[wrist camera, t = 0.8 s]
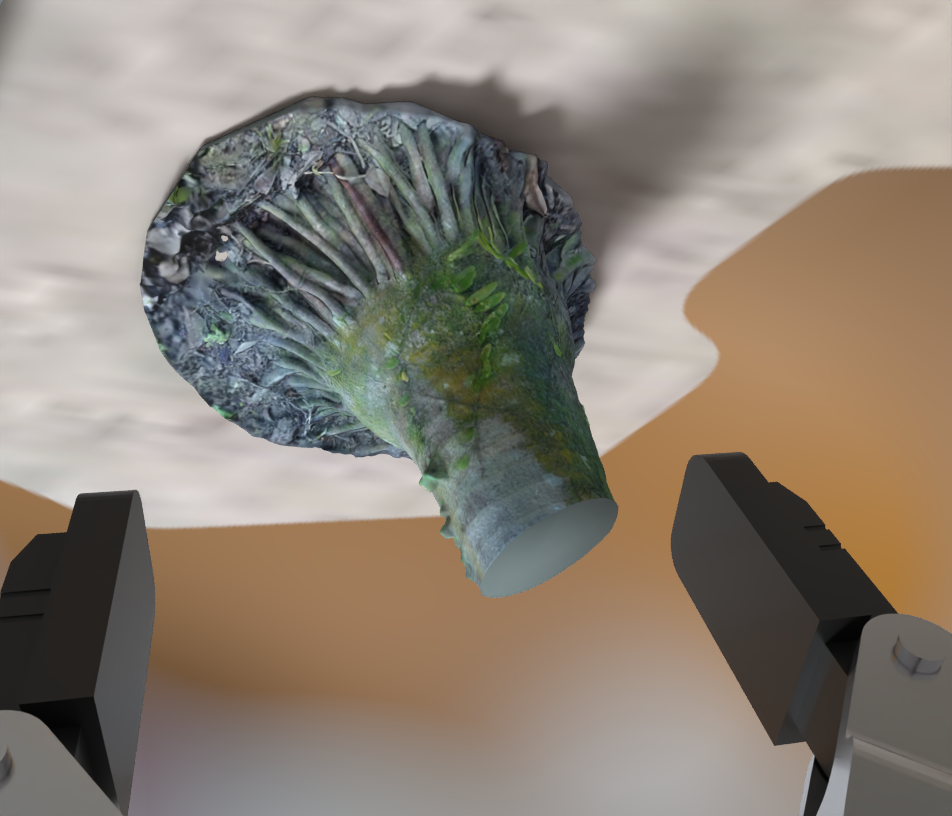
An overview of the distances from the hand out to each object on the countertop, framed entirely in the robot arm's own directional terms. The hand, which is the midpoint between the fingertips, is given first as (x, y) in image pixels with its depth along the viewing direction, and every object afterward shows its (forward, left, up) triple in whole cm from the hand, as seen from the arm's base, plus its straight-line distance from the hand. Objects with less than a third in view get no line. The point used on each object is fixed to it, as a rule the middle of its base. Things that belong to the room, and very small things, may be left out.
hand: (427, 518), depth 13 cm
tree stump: (+11, -9, -26) cm, 30 cm away
